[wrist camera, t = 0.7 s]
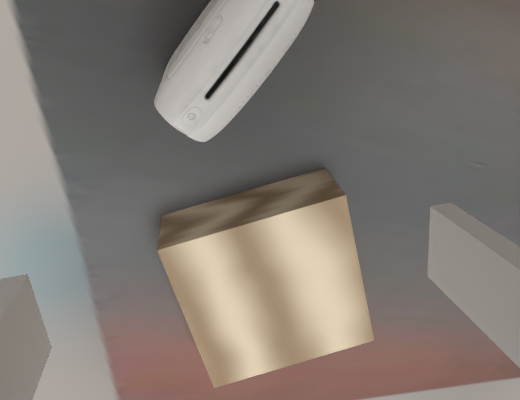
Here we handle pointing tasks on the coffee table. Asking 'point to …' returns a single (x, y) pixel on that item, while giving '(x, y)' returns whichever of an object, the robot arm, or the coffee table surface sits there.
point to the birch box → (267, 276)
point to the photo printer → (226, 61)
